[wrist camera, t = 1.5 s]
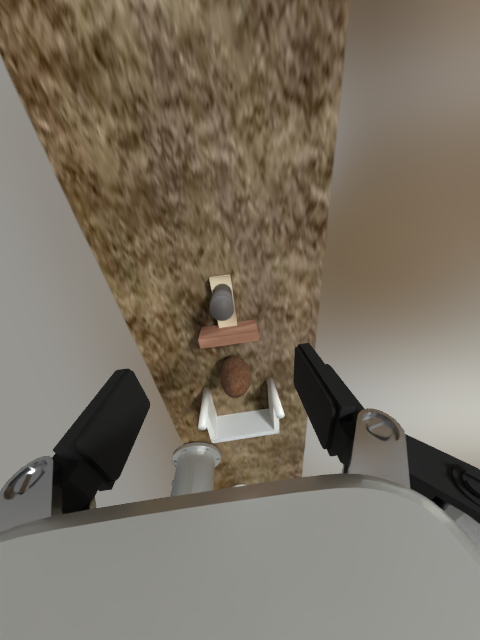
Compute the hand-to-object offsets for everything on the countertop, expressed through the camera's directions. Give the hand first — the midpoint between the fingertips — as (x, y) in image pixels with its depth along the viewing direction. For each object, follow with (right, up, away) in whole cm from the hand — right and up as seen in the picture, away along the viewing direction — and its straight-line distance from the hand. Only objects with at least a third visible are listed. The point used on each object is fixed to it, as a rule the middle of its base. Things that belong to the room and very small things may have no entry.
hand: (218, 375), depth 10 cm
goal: (+1, -14, +28) cm, 31 cm away
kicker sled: (-1, +6, +18) cm, 18 cm away
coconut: (0, -4, +23) cm, 24 cm away
